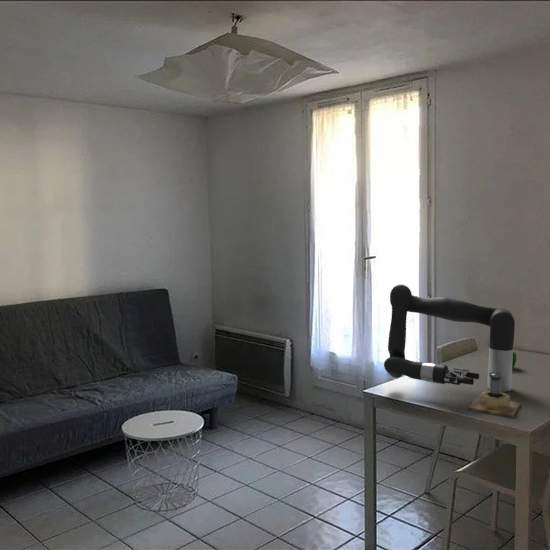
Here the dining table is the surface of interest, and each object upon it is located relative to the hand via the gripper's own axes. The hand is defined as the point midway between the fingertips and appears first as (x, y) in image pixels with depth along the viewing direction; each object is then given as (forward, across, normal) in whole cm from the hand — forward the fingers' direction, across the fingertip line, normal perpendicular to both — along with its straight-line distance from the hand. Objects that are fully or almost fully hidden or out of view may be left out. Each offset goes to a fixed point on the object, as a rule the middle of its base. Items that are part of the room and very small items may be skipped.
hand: (476, 379), depth 226 cm
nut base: (+7, 0, +10) cm, 12 cm away
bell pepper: (0, +62, +10) cm, 63 cm away
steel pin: (+7, 0, +9) cm, 11 cm away
